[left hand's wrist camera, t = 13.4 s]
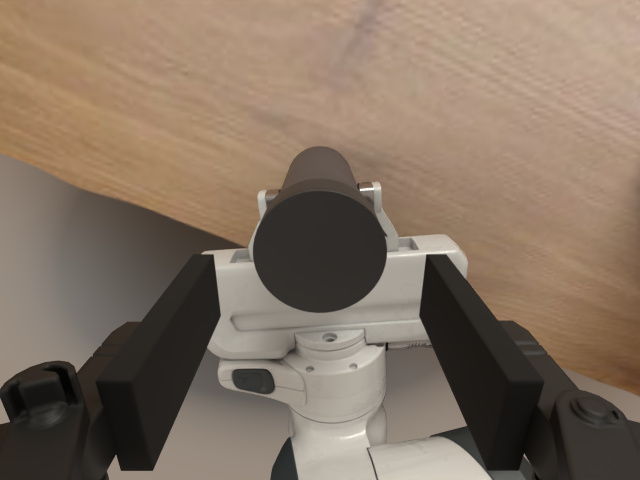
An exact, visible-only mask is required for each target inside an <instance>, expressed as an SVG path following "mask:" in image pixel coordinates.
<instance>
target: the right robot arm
mask: <svg viewBox="0 0 640 480" xmlns="http://www.w3.org/2000/svg"><path fill="white" fill-rule="evenodd" d="M357 187H358V190H359V192H360V193H361V194H362V195H363V196H364V197H365V198H366V199H367V201H368V202H369V203H370V204H371V206H372V208H373V210H374V211H375V214H376V216H377V218H378V220H379V222H380V225H381V227H382V229H383V232H384V234H385V238H386V243H387V259H386V265H385V268H384V271H383V274H382V276H381V278H380V280H379V281H378V283H377V284H376V286H375V287H374V288H373V290H372V291H371V292H370V293H369V294H368V295H367V296H366V297H364V298H363V299H362V300H360V301H359V302H357V303H356V304H354V305H352V306H350V307H347V308H345V309H342V310H339V311H335V312H328V313H312V312H306V311H301V310H298V309H295V308H292V307H290V306H288V305H286V304H284V303H283V302H281V301H279V300H278V299H277V298H275V297H274V296H273V295H272V294H271V293H270V292H269V291H268V290H267V289H266V287H265V286H264V285H263V283H262V282H261V280H260V278H259V276H258V274H257V271H256V269H255V265H254V260H253V243H254V237H255V234H256V231H257V229H258V226H259V224H260V222H261V220H262V218H263V215H264V213H265V211H266V209H267V207H268V206H269V204H270V203H271V201H272V200H273V199H274V198H275V197H276V196H277V195H278V194H279V193H280V191H281V189H277V190H262V191H260V192H259V193H258V207H259V214H260V220H259V222H258V224H257V227H256V229H255V231H254V233H253V236H252V238H251V240H250V243H249V245H248V248H243V249H229V250H215V251H205V252H203V253H202V254H214V261H215V269H216V278H217V286H218V295H219V303H220V312H221V317H220V319H219V322H218V324H217V326H216V328H215V331H214V333H213V335H212V337H211V340H210V342H209V344H208V347H207V348H208V349H209V350H210V351H211V352H212V353H213V354H215V355H217V356H219V357H220V361H219V367H218V379H219V382H220V383H221V385H222V386H224V387H225V388H228V389H231V390H236V391H242V392H247V393H253V394H257V395H261V396H266V397H269V398H272V399H276V400H279V401H282V402H285V403H287V405H288V407H289V409H290V413H289V420H288V429H289V438H288V439H287V441H286V442H285V443H284V445H283V447H282V449H281V450H280V453H279V455H278V457H277V459H276V461H275V463H274V465H273V468H272V473H271V480H531V477H532V474H533V470H534V469H533V468H532V466H531V465H530V463H529V462H528V461H527V460H526V459H525V457H524V456H523V458H522V462H521V465H520V469H519V471H487V469H486V467H485V465H484V462H483V460H482V458H481V455H480V453H479V451H478V449H477V446H476V444H475V442H474V440H473V437H472V435H471V433H470V430H469V428H468V426H465V427H462V428H458V429H454V430H450V431H446V432H442V433H439V434H435V435H432V436H430V437H428V438H422V439H415V440H409V441H402V442H396V443H390V444H387V419H386V413H385V409H384V407H383V404H382V403H383V401H384V397H385V394H386V351H387V350H398V349H409V348H413V347H419V346H420V347H432V344H431V342H430V340H429V337H428V335H427V333H426V331H425V328H424V326H423V324H422V322H421V319H420V317H419V312H420V303H421V295H422V286H423V278H424V269H425V261H426V254H447V256H448V257H449V258H450V260H451V261H452V262H453V263H454V265H455V266H456V267H457V269H458V270H459V271H460V272H461V274H462V275H463V276H464V278H465V279H466V277H467V269H468V260H467V257H466V255H465V254H464V252H463V251H462V250H461V248H460V247H459V246H458V245H457V244H456V243H455V242H454V241H453V240H452V239H451V238H449V237H448V236H447V235H444V234H436V235H422V236H408V237H398V233H397V232H396V230H395V228H394V226H393V224H392V223H391V221H390V220H389V218H388V217H387V215H386V213H385V212H384V210H383V209H382V192H381V185H380V183H379V182H365V183H357Z"/></svg>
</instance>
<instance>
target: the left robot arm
mask: <svg viewBox="0 0 640 480" xmlns="http://www.w3.org/2000/svg"><path fill="white" fill-rule="evenodd" d="M220 317H221V312H220V303H219V295H218V286H217V278H216V269H215V261H214V254H193V256H192V257H191V258H190V260H189V261H188V262H187V263H186V265H185V266H184V267H183V269H182V270H181V271H180V272H179V274H178V275H177V276H176V278H175V279H174V280H173V281H172V283H171V284H170V285H169V287H168V288H167V289H166V291H165V292H164V293H163V294H162V296H161V297H160V298H159V299H158V301H157V302H156V303H155V305H154V306H153V307H152V309H151V310H150V311H149V312H148V314H147V315H146V316H145V318H144V319H143V320H142V321H141V322H127V323H125V324H124V325H122V326H121V327H119V328H117V329H116V330H115V331H113V332H112V333H111V334H110V335H109V336H108V337H107V339H106V340H105V341H104V342H103V343H102V346H100V347H99V348H98V349H97V350H96V351H95V352H94V354H93V357H90V358H89V359H88V360H87V362H86V363H85V364H84V365H83V366H82V367H81V369H80V370H79V371H78V372H77V373H76V370H75V367H74V366H73V365H72V364H70V363H69V362H65V361H51V362H44V363H41V364H38V365H35V366H32V367H29V368H28V369H26V370H24V371H22V372H20V373H18V374H16V375H15V376H13V377H12V378H11V379H9V380H8V381H7V382H5V383H4V385H3V386H2V387H1V389H0V398H1V401H2V403H3V406H4V408H5V410H6V413H7V415H8V417H9V420H10V422H9V423H4V424H0V480H109V477H108V474H107V469H108V468H109V466H110V464H111V462H112V460H113V459H114V457H115V455H117V458H118V462H119V465H120V469H121V471H153V469H154V467H155V464H156V462H157V460H158V458H159V455H160V453H161V451H162V449H163V446H164V444H165V442H166V440H167V437H168V435H169V433H170V430H171V428H172V426H173V424H174V421H175V419H176V417H177V415H178V412H179V410H180V408H181V406H182V403H183V401H184V399H185V396H186V394H187V392H188V390H189V387H190V385H191V383H192V381H193V378H194V376H195V374H196V371H197V369H198V367H199V365H200V362H201V360H202V358H203V355H204V353H205V351H206V349H207V347H208V344H209V342H210V340H211V337H212V335H213V333H214V331H215V328H216V326H217V324H218V322H219V319H220ZM419 317H420V319H421V322H422V324H423V326H424V328H425V331H426V333H427V335H428V337H429V340H430V342H431V344H432V347H433V349H434V351H435V353H436V356H437V358H438V360H439V362H440V365H441V367H442V369H443V371H444V374H445V376H446V378H447V381H448V383H449V385H450V387H451V390H452V392H453V394H454V396H455V399H456V401H457V403H458V405H459V408H460V410H461V412H462V415H463V417H464V419H465V421H466V424H467V426H468V428H469V430H470V433H471V435H472V437H473V440H474V442H475V444H476V446H477V449H478V451H479V453H480V455H481V458H482V460H483V462H484V465H485V467H486V469H487V471H519V469H520V465H521V462H522V458H523V455H524V453H525V455H526V457H527V459H528V460H529V462H530V464H531V466H532V467H533V469H534V470H533V474H532V477H531V480H640V423H638V422H634V421H630V420H627V418H626V417H625V415H624V414H623V412H621V411H620V410H619V409H618V408H617V407H616V406H614V405H613V404H612V403H610V402H609V401H607V400H605V399H603V398H602V397H600V396H598V395H595V394H592V393H589V392H587V391H582V390H579V389H578V388H577V386H576V385H575V384H574V383H573V382H572V381H571V380H570V378H569V377H568V376H567V375H566V374H565V373H564V371H563V370H562V369H561V368H560V367H559V366H558V365H557V363H556V362H555V361H554V360H553V359H552V358H551V356H550V355H547V352H546V351H545V350H544V348H543V347H542V346H541V345H539V343H538V342H537V340H536V339H535V338H534V337H533V336H532V335H531V333H530V332H529V331H528V330H526V329H525V328H523V327H522V326H520V325H518V324H517V323H515V322H514V321H498V320H497V319H496V318H495V316H494V315H493V314H492V312H491V311H490V310H489V308H488V307H487V306H486V305H485V303H484V302H483V301H482V299H481V298H480V297H479V296H478V294H477V293H476V292H475V290H474V289H473V288H472V287H471V285H470V284H469V283H468V281H467V280H466V279H465V278H464V276H463V275H462V274H461V272H460V271H459V270H458V269H457V267H456V266H455V265H454V263H453V262H452V261H451V260H450V258H449V257H448V256H447V254H426V261H425V269H424V278H423V286H422V295H421V303H420V312H419Z"/></svg>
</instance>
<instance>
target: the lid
mask: <svg viewBox="0 0 640 480" xmlns="http://www.w3.org/2000/svg"><path fill="white" fill-rule="evenodd" d="M386 259H387V243H386V238H385V234H384V232H383V229H382V227H381V225H380V222H379V220H378V218H377V216H376V214H375V211H374V210H373V208H372V206H371V204H370V203H369V202H368V201H367V199H366V198H365V197H364V196H363V195H362V194H361V193H360V192H358V191H357V190H356V189H354V188H353V187H351V186H349V185H347V184H345V183H342V182H339V181H336V180H331V179H323V178H320V179H309V180H304V181H301V182H297V183H295V184H293V185H291V186H289V187H287V188H286V189H284V190H283V191H282V192H280V193H279V194H278V195H277V196H276V197H275V198H274V199H273V200H272V201H271V203H270V204H269V206H268V207H267V209H266V211H265V213H264V215H263V218H262V220H261V222H260V224H259V226H258V229H257V231H256V234H255V237H254V243H253V260H254V265H255V269H256V271H257V274H258V276H259V278H260V280H261V282H262V283H263V285H264V286H265V287H266V289H267V290H268V291H269V292H270V293H271V294H272V295H273V296H274V297H275V298H277V299H278V300H279V301H281V302H283V303H284V304H286V305H288V306H290V307H292V308H295V309H298V310H301V311H306V312H312V313H328V312H335V311H339V310H342V309H345V308H347V307H350V306H352V305H354V304H356V303H357V302H359V301H360V300H362V299H363V298H364V297H366V296H367V295H368V294H369V293H370V292H371V291H372V290H373V288H374V287H375V286H376V284H377V283H378V281H379V280H380V278H381V276H382V274H383V271H384V268H385V265H386Z"/></svg>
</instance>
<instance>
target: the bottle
mask: <svg viewBox="0 0 640 480" xmlns="http://www.w3.org/2000/svg"><path fill="white" fill-rule="evenodd" d="M320 178H323V179H331V180H336V181H339V182H342V183H345V184H347V185H349V186H351V187H353V188H354V189H356V190H357V191H358V192H359V190H358V187H357V185H356V182H355V180H354V177H353V174H352V172H351V169H350V167H349V165H348V163H347V161H346V160H345V158H344V157H343V156H342V155H341V154H340V153H338V152H337V151H335V150H333V149H331V148H327V147H312V148H309V149H306V150H304V151H303V152H301V153H300V154H299V155H298V156H297V157H296V158H295V159H294V160H293V162H292V164H291V166H290V168H289V171H288V173H287V176H286V178H285V181H284V184H283V186H282V189H281V191H280V192H282V191H283V190H284V189H286V188H287V187H289V186H291V185H293V184H295V183H297V182H301V181H304V180H309V179H320Z"/></svg>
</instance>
